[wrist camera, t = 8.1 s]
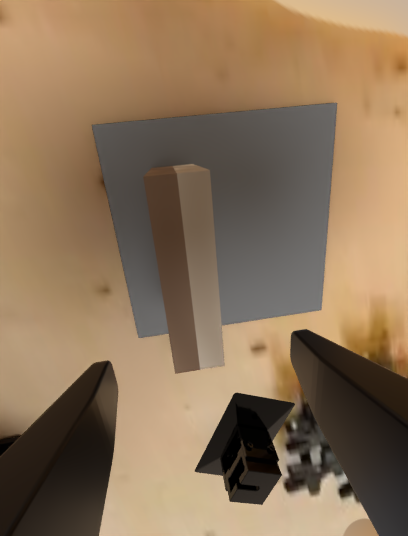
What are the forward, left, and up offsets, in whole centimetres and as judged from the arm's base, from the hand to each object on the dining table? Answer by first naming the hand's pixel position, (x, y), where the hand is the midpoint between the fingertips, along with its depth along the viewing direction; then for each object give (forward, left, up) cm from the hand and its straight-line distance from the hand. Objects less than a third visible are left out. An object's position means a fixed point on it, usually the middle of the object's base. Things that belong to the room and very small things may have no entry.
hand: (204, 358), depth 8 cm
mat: (+3, 0, -12) cm, 12 cm away
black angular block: (+3, -20, -13) cm, 24 cm away
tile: (0, 0, -12) cm, 12 cm away
